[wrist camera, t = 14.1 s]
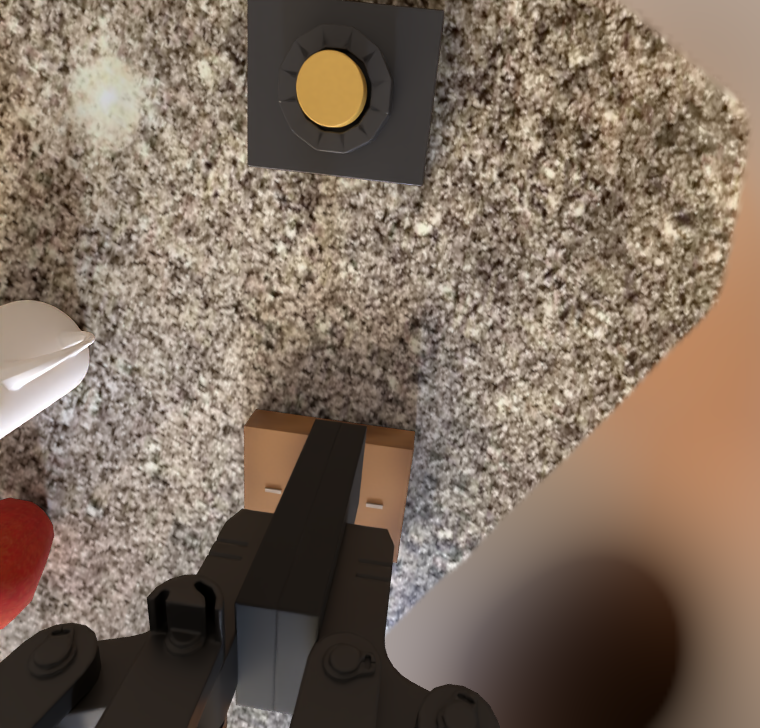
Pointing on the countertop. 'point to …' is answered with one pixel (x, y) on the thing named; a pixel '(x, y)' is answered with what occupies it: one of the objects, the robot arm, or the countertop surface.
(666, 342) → the countertop surface
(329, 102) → the button
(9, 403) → the mug
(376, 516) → the plate
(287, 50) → the push button housing
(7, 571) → the apple
